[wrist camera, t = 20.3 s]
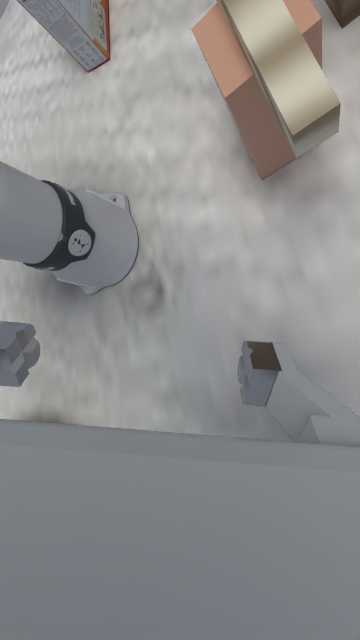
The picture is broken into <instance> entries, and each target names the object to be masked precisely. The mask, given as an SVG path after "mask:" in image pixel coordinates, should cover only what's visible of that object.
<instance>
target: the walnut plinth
mask: <svg viewBox="0 0 360 640" xmlns="http://www.w3.org/2000/svg"><path fill="white" fill-rule="evenodd" d="M325 1H326V3H327V5H328V6H329V8H330V9H331V11H332V13H333V14H334V16H335V18H336V19H337V21H338V22H339V24H340V26H341V27H342V28H343V27H345V26H346V25H347V24H348V23H350V22H351V21H352V20H354V19H355V18H356V17H357V16H359V15H360V0H325Z"/></svg>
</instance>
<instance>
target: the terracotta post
mask: <svg viewBox="0 0 360 640" xmlns="http://www.w3.org/2000/svg"><path fill="white" fill-rule="evenodd" d="M283 2H284V4H285V6H286V7H287V9H288V11H289V13H290V14H291V16H292V18H293V20H294V22H295V23H296V25H297V27H298V29H299V30H300V32H301V34H302V36H303V38H304V39H305V41H306V43H307V45H308V46H309V48H310V50H311V52H312V54H313V55H314V57H315V59H316V61H317V62H318V64H319V66H320V68H321V69H322V18H321V16H320V14H319V13H318V11H317V9H316V8H315V6H314V4H313V3H312V1H311V0H283ZM192 31H193V34H194V36H195V38H196V40H197V42H198V44H199V47H200V49H201V51H202V53H203V55H204V57H205V60H206V62H207V64H208V66H209V68H210V70H211V73H212V75H213V77H214V79H215V81H216V84H217V86H218V88H219V90H220V92H221V94H222V97H223V99H224V101H225V103H226V105H227V107H228V110H229V112H230V114H231V116H232V118H233V120H234V123H235V125H236V127H237V129H238V131H239V134H240V136H241V138H242V140H243V142H244V144H245V146H246V148H247V150H248V152H249V154H250V156H251V158H252V160H253V162H254V164H255V166H256V169H257V171H258V173H259V175H260V177H261V179H262V180H263V179H265V178H266V177H268V176H269V175H271V174H272V173H274V172H276V171H277V170H279V169H280V168H282V167H283V166H285V165H286V164H288V163H290V162H291V161H293V160H294V159H296V156H295V154H294V152H293V150H292V148H291V146H290V144H289V142H288V141H287V139H286V137H285V135H284V133H283V131H282V129H281V127H280V125H279V123H278V121H277V119H276V117H275V115H274V113H273V111H272V109H271V107H270V105H269V103H268V101H267V99H266V97H265V95H264V93H263V91H262V89H261V87H260V85H259V83H258V81H257V79H256V77H255V75H254V73H253V71H252V69H251V67H250V65H249V63H248V62H247V60H246V58H245V56H244V54H243V52H242V50H241V48H240V46H239V44H238V42H237V40H236V38H235V36H234V34H233V32H232V30H231V28H230V26H229V24H228V22H227V20H226V18H225V16H224V14H223V12H222V10H221V8H220V6H219V4H218V3H217V4H216V5H215V6H214V7H213V8H212V9H211V10H210V11H209V12H208V13H207V14H206V15H205V16H204V17H203V18H202V19H201V20H200V21H199V22H198V23H197V24H196V25H195V26H194V27H193V28H192Z"/></svg>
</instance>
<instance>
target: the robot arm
mask: <svg viewBox="0 0 360 640" xmlns="http://www.w3.org/2000/svg"><path fill="white" fill-rule="evenodd" d="M115 201H116V202H115ZM137 249H138V234H137V229H136V226H135V223H134V221H133V219H132V217H131V215H130V212H129V203H128V199H127V197H126V196H125V195H122V194H117V193H106V192H95V191H91V190H88V189H86V190H85V191H84V190H73V189H68V190H67V189H65V188H64V187H62V186H60V185H58V184H56V183H52V182H49V181H46V180H38V179H36V178H34V177H32V176H30V175H28V174H26V173H24V172H22V171H20V170H18V169H16V168H13V167H11V166H9V165H7V164H5V163H3V162H1V161H0V259H5V260H12V261H18V262H23V263H24V264H25V265H27V266H30V267H34V268H36V269H40V270H49V271H51V274H52V275H53V276H55V277H57V280H59V281H62V282H67V283H72V284H77V285H78V286H79V287H80V288H81V289H82V290H83V291H84V292H85V293H86V294H89V295H93V294H95V293H96V292H97V291H99V290H100V289H101V288H103V287H106V286H111V285H113V284H116V283H117V282H119V281H120V280H122V279H123V278H124V277H125V276H126V275H127V273H128V272H129V270H130V269H131V267H132V265H133V263H134V261H135V258H136V254H137ZM35 334H36V331H35V328H34V326H33V325H31V324H26V323H16V322H4V321H0V386H16V387H20V386H21V385H22V383H23V382H24V380H25V379H26V377H27V376H28V375H29V371H28V369H29V368H31V367H33V366H34V365H35V364H36V363H37V361H38V359H39V356H40V344H39V342H38V341H37V340H36V339H35V338H34V336H35ZM242 352H243V355H242V356H241V357H240V358H239V363H238V379H239V382H240V383H241V384H242V386H241V390H240V391H241V397H242V402H243V404H246V405H255V406H265V408H266V409H267V410H268V411H269V413H270V414H271V415H272V416H273V417H274V419H275V420H276V421H277V422H278V423H279V425H280V426H281V427H282V428H283V429H284V431H285V432H286V433H287V434H288V436H289V437H290V438H291V439H292V440H293V442H286V441H273V440H260V439H248V438H235V437H222V436H209V435H197V434H184V433H172V432H159V431H147V430H134V429H122V428H109V427H96V426H84V425H71V424H58V423H45V422H33V421H20V420H7V419H0V640H360V417H359V416H357V415H356V414H355V413H354V412H352V411H351V410H350V409H348V408H347V407H346V406H344V405H343V404H342V403H340V402H339V401H338V400H337V399H335V398H334V397H333V396H331V395H330V394H329V393H327V392H326V391H325V390H323V389H322V388H321V387H320V386H318V385H317V384H316V383H314V382H313V381H312V380H310V379H309V378H308V377H307V376H305V375H304V374H303V373H298V371H297V369H296V367H295V364H294V362H293V360H292V357H291V355H290V353H289V351H288V348H287V346H286V344H285V343H278V342H256V341H244V343H243V346H242Z"/></svg>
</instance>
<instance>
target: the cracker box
mask: <svg viewBox="0 0 360 640" xmlns="http://www.w3.org/2000/svg"><path fill="white" fill-rule="evenodd" d="M17 1H18V2H19V3H20V4H21V5H22V6H23V7H24V8H25V9H26V10H27V11H28V12H29V13H30V14H31V15H32V16H33V17H34V18H35V19H36V20H37V21H38V22H39V23H40V24H41V25H42V26H43V27H44V28H45V29H46V30H47V31H48V32H49V34H50V35H51V36H52V37H53V38H54V39H55V40H56V41H57V42H58V43H59V44H60V45H61V46H62V47H63V48H64V49H65V50H66V51H67V52H68V53H69V54H70V55H71V56H72V57H73V58H74V59H75V60H76V61H77V62H78V63H79V64H80V65H81V66H82V67H83V68H84V69H85V70H86V71H87V72H89V71H91V70H92V69H94V68H96V67H97V66H99V65H101V64H102V63H104V62H106V61H107V60H109V59H110V51H109V18H108V0H17Z"/></svg>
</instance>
